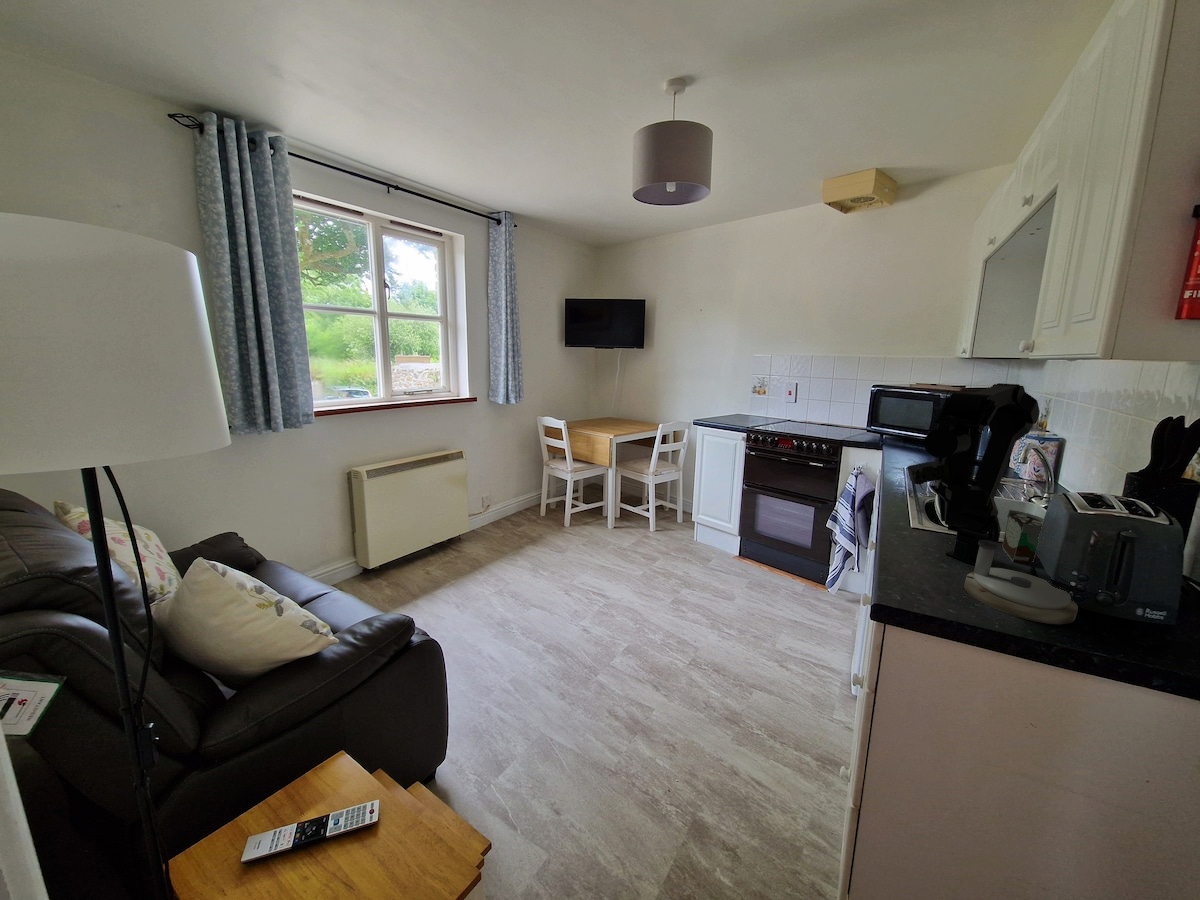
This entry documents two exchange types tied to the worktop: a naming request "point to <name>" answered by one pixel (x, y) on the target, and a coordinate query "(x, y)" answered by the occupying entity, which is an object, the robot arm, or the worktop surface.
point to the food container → (1021, 536)
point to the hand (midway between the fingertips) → (946, 523)
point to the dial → (1016, 582)
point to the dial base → (1020, 606)
